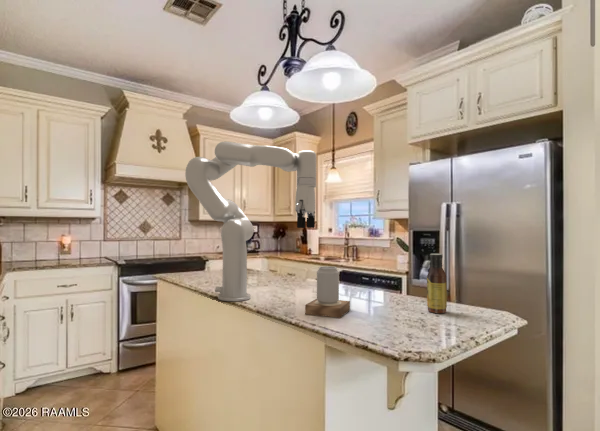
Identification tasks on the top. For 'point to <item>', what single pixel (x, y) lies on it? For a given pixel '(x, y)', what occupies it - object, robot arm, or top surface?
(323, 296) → the can
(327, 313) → the base
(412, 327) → the top surface
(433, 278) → the sauce bottle
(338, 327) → the top surface
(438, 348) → the top surface
